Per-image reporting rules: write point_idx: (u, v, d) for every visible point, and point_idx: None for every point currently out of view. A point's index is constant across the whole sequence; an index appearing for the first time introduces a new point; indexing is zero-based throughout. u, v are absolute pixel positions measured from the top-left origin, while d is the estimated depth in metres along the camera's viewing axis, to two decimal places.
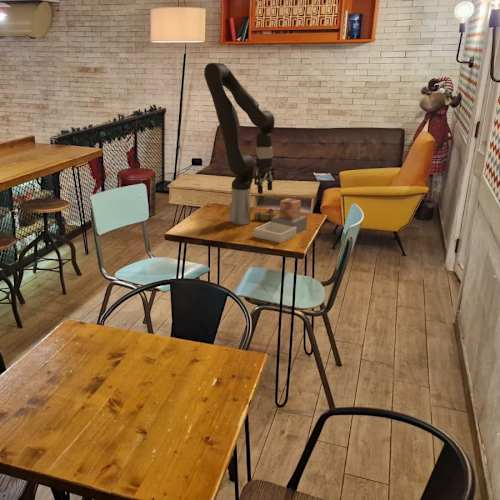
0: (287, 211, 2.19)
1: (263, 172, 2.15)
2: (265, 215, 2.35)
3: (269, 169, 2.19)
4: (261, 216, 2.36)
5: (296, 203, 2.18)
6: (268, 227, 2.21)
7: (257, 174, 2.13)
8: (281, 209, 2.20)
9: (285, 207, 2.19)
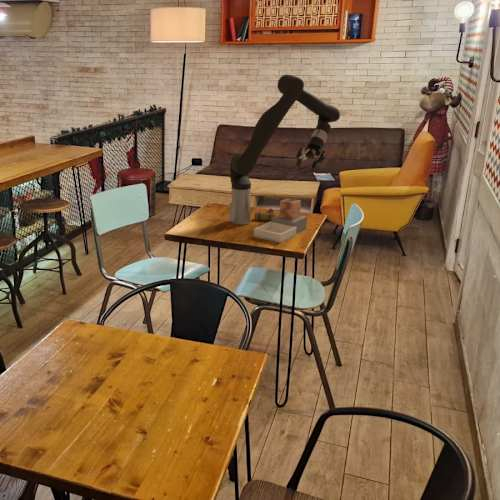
0: (287, 211, 2.19)
1: None
2: (265, 215, 2.36)
3: None
4: (261, 216, 2.36)
5: (296, 203, 2.18)
6: (268, 227, 2.21)
7: (325, 154, 2.31)
8: (281, 209, 2.20)
9: (285, 207, 2.19)
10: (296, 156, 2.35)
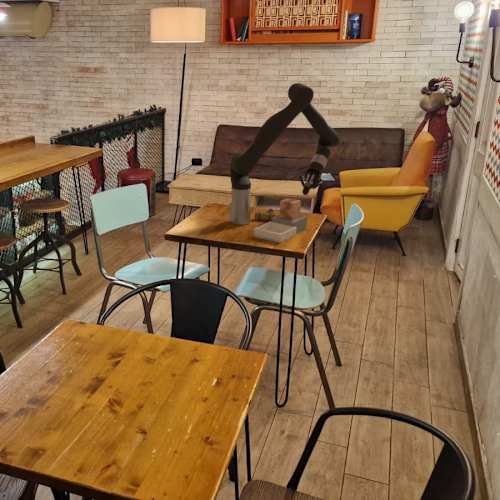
0: (287, 211, 2.19)
1: None
2: (265, 215, 2.36)
3: None
4: (261, 216, 2.36)
5: (296, 203, 2.18)
6: (268, 227, 2.21)
7: (321, 183, 2.31)
8: (281, 209, 2.20)
9: (285, 207, 2.19)
10: (302, 184, 2.33)
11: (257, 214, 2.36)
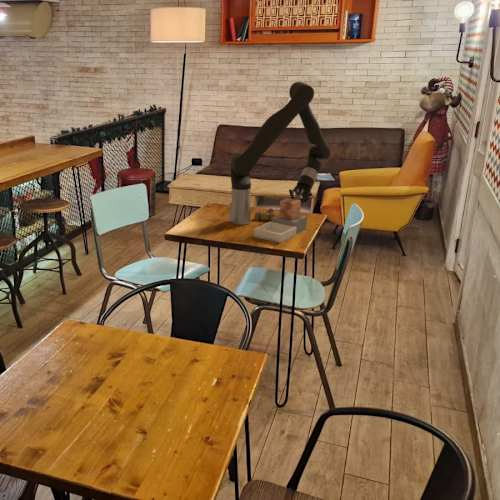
0: (287, 211, 2.19)
1: None
2: (265, 215, 2.36)
3: None
4: (261, 216, 2.37)
5: (296, 203, 2.18)
6: (268, 227, 2.21)
7: (311, 197, 2.25)
8: (281, 209, 2.20)
9: (285, 207, 2.19)
10: (291, 198, 2.27)
11: (257, 214, 2.37)
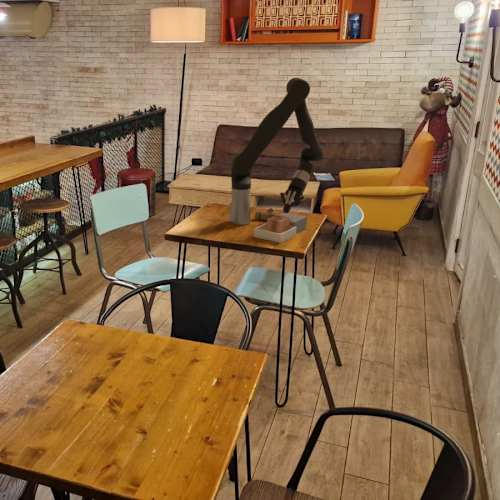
0: None
1: None
2: (265, 215, 2.36)
3: None
4: (261, 216, 2.37)
5: (281, 230, 2.11)
6: None
7: (302, 200, 2.18)
8: None
9: None
10: (283, 201, 2.20)
11: (257, 214, 2.37)
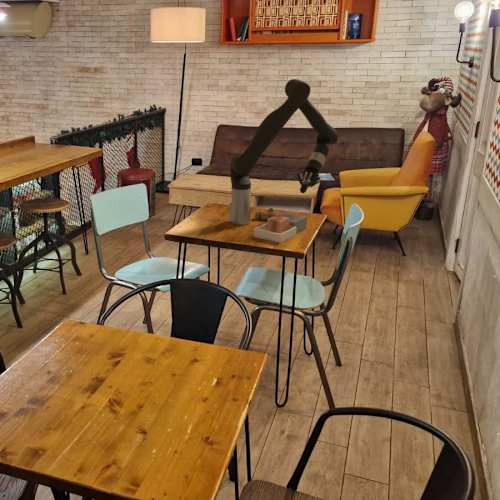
0: None
1: None
2: (266, 214, 2.37)
3: None
4: (262, 215, 2.37)
5: (281, 230, 2.11)
6: None
7: (318, 181, 2.28)
8: None
9: None
10: (300, 182, 2.30)
11: (257, 213, 2.37)
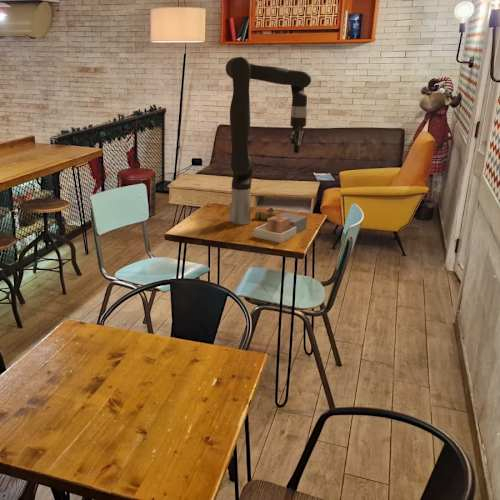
0: None
1: (296, 133, 2.27)
2: (266, 214, 2.37)
3: (302, 128, 2.31)
4: (262, 215, 2.38)
5: (281, 230, 2.11)
6: None
7: (292, 137, 2.26)
8: None
9: None
10: None
11: (258, 213, 2.38)
